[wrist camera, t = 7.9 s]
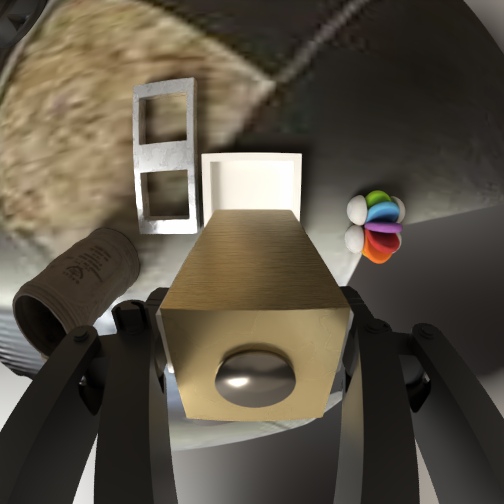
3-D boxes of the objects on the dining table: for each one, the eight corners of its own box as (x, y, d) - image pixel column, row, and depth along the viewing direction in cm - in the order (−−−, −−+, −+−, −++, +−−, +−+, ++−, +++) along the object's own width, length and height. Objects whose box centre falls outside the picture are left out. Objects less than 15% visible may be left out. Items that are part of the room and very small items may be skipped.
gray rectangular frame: (140, 89, 30) (133, 86, 28) (197, 82, 30) (193, 77, 28) (146, 228, 37) (140, 234, 35) (200, 227, 37) (196, 233, 35)
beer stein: (90, 213, 36) (1, 275, 18) (148, 238, 38) (75, 322, 20) (82, 289, 42) (21, 361, 24) (131, 313, 43) (82, 399, 26)
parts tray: (205, 153, 33) (201, 154, 31) (298, 153, 34) (301, 153, 31) (208, 241, 38) (205, 247, 35) (295, 241, 38) (298, 247, 35)
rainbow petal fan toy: (340, 252, 39) (357, 274, 32) (345, 186, 35) (366, 195, 28) (389, 252, 39) (412, 271, 32) (397, 190, 35) (424, 200, 28)
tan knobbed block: (215, 209, 18) (156, 314, 6) (290, 209, 18) (354, 313, 7) (218, 277, 20) (185, 424, 8) (287, 277, 20) (323, 423, 8)
